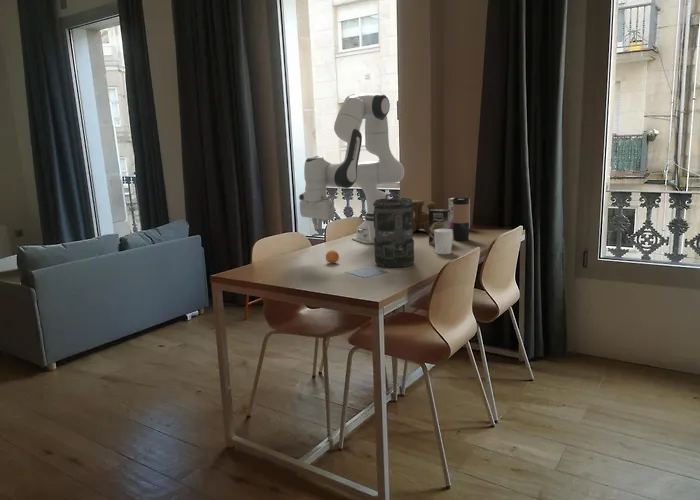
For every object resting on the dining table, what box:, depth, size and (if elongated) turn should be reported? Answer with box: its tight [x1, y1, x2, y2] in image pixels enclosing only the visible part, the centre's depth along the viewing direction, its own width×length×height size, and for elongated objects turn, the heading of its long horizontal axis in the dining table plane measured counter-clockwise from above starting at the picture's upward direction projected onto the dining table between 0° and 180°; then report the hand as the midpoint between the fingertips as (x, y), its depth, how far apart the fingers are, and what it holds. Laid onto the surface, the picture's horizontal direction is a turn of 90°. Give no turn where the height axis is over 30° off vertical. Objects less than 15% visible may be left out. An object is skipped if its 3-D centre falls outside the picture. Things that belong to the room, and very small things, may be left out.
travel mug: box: [452, 197, 470, 242], centre depth 257 cm, size 8×8×20 cm
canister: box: [373, 193, 415, 268], centre depth 212 cm, size 16×16×28 cm
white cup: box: [434, 229, 453, 255], centre depth 231 cm, size 8×8×10 cm
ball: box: [325, 249, 340, 264], centre depth 220 cm, size 6×6×6 cm
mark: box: [344, 266, 390, 279], centre depth 203 cm, size 12×12×1 cm
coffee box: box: [428, 208, 450, 246], centre depth 250 cm, size 9×6×16 cm
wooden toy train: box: [411, 199, 437, 234], centre depth 283 cm, size 20×11×17 cm, turn 66°
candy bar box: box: [447, 197, 471, 230], centre depth 288 cm, size 11×5×16 cm, turn 46°
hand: (317, 229), depth 224 cm, fingers closed
